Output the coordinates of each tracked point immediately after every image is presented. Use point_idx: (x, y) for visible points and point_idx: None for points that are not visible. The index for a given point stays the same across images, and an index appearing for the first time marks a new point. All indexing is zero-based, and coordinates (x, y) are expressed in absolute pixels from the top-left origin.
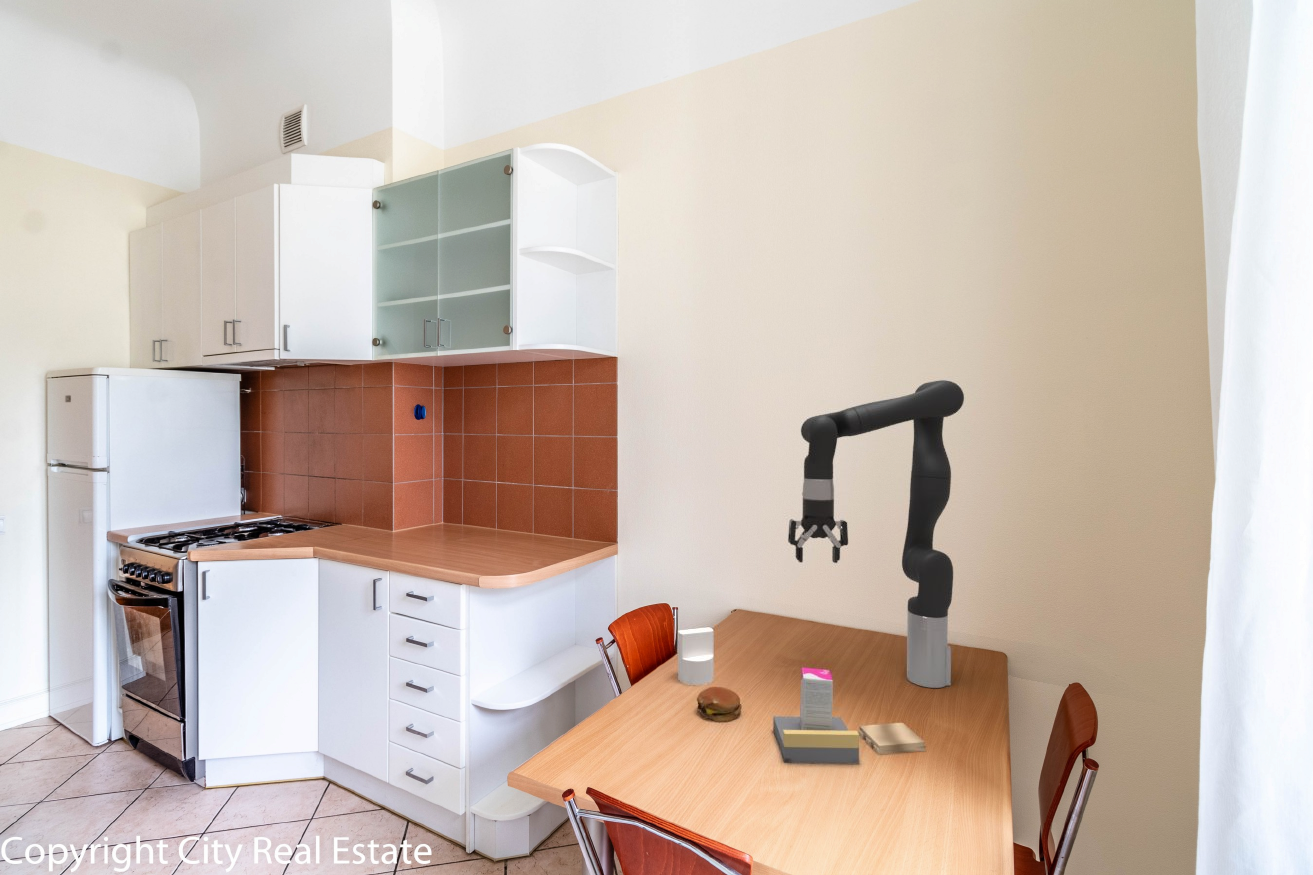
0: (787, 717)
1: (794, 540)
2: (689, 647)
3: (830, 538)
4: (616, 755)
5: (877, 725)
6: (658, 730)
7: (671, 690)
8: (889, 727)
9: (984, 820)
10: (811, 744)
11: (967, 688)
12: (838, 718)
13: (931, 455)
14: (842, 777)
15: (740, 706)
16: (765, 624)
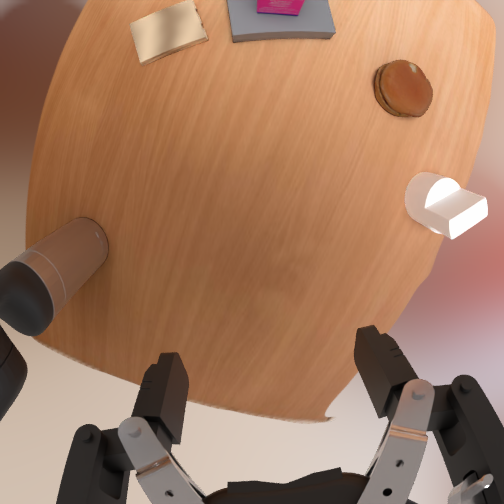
0: (315, 29)
1: (461, 401)
2: (463, 196)
3: (181, 475)
4: (462, 25)
5: (178, 44)
6: (447, 57)
7: (449, 155)
8: (162, 43)
9: None
10: None
11: (47, 228)
12: (236, 31)
13: None
14: None
15: (377, 80)
16: (299, 393)
